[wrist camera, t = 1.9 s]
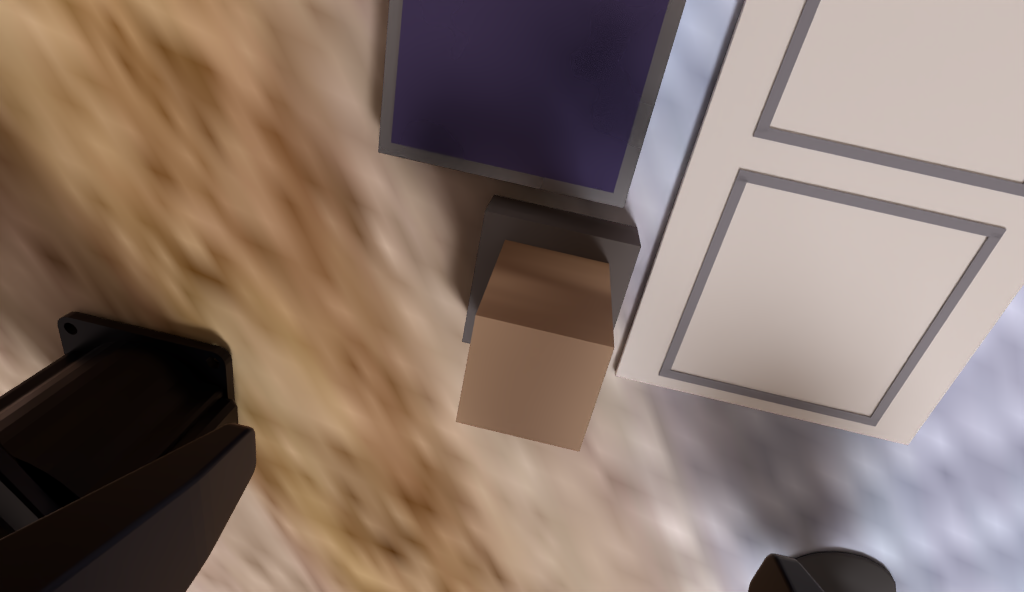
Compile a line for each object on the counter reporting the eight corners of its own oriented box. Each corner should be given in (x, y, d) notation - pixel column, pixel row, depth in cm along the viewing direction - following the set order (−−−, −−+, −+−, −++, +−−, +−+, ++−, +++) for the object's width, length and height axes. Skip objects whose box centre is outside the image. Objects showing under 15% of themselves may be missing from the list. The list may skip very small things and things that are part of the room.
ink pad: (389, 144, 16) (375, 153, 15) (419, -206, 12) (403, -225, 11) (621, 197, 16) (623, 210, 15) (722, -142, 12) (734, -157, 11)
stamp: (472, 316, 19) (423, 436, 13) (494, 193, 17) (447, 278, 11) (598, 346, 19) (600, 479, 13) (636, 226, 16) (657, 327, 11)
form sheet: (615, 372, 19) (615, 376, 19) (830, -248, 11) (835, -253, 11) (904, 441, 19) (908, 446, 18) (1322, -147, 11) (1338, -150, 11)
